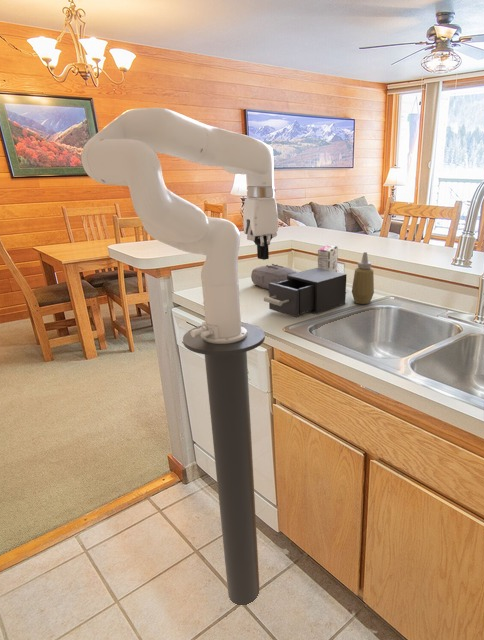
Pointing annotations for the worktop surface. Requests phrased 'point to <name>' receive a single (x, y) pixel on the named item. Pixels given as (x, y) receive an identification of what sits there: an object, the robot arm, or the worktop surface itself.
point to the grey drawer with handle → (291, 297)
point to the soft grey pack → (270, 275)
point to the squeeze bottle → (363, 282)
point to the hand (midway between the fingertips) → (263, 258)
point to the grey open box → (324, 287)
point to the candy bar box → (328, 258)
